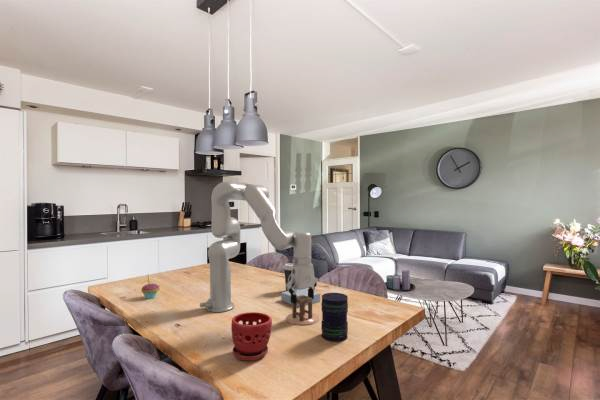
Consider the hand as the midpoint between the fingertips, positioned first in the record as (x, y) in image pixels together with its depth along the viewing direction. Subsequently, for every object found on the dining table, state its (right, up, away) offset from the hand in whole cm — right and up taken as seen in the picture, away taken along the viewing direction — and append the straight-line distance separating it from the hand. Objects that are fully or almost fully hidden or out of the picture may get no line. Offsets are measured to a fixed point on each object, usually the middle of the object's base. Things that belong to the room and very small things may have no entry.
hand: (302, 300), depth 136 cm
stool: (0, -7, 0) cm, 7 cm away
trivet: (0, -8, 0) cm, 8 cm away
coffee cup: (-6, -8, +41) cm, 42 cm away
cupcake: (-79, -8, +29) cm, 85 cm away
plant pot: (-17, -8, -31) cm, 36 cm away
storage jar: (+12, -8, -17) cm, 23 cm away
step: (-1, -8, +24) cm, 25 cm away
